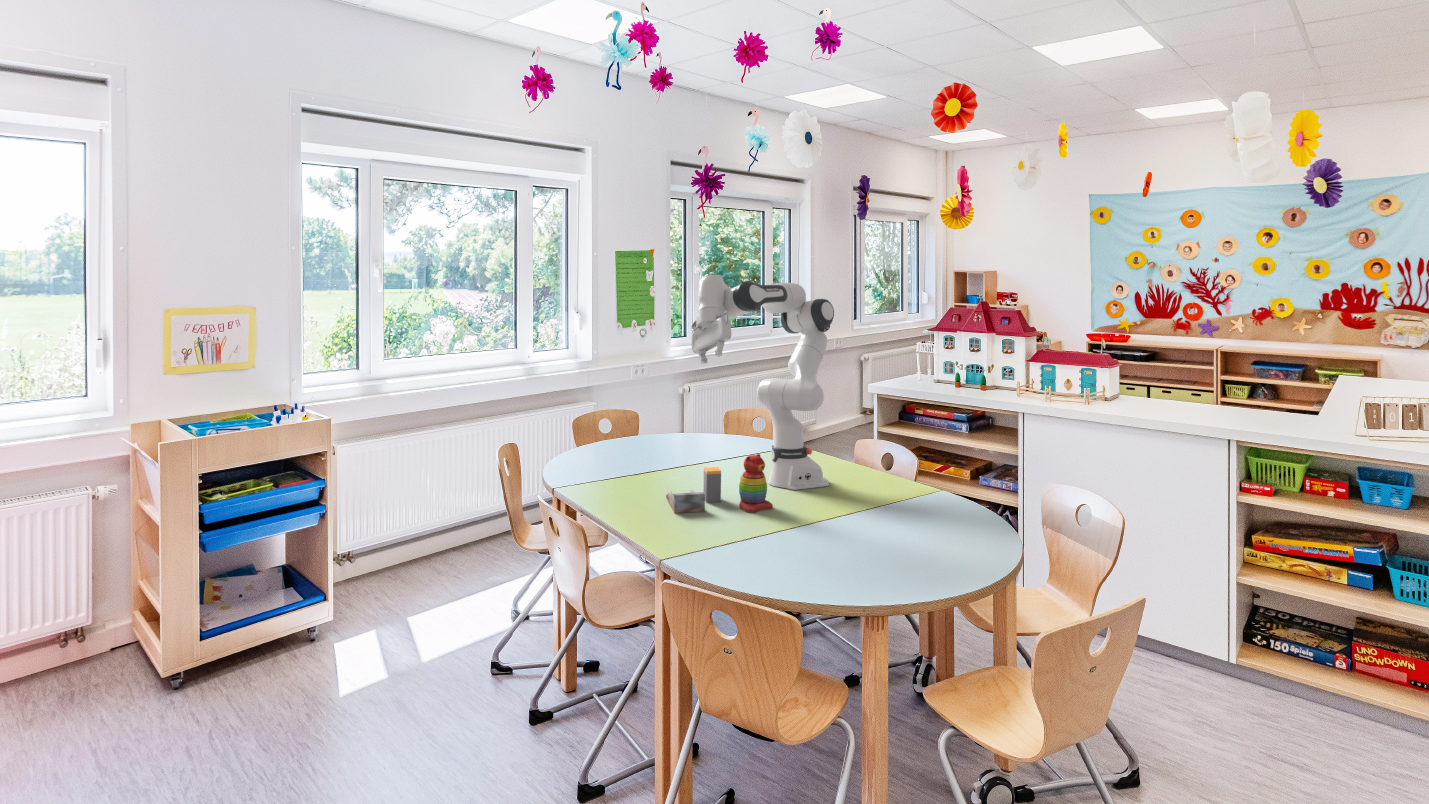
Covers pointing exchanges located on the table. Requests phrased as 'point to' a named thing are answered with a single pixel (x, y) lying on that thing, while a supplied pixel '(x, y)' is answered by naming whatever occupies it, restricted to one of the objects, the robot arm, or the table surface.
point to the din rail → (687, 502)
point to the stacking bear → (753, 485)
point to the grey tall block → (712, 484)
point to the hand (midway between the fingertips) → (711, 359)
